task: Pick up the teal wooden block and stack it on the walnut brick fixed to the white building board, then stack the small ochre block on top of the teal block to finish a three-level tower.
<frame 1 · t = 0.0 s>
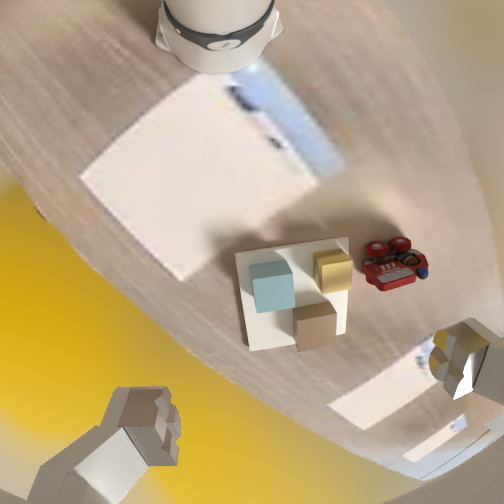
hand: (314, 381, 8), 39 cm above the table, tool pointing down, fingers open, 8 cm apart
toy fire truck: (383, 255, 51), on the table
building board: (295, 296, 52), on the table
teal block: (269, 278, 49), point 1 cm above the table, touching building board
ochre block: (327, 264, 49), point 1 cm above the table, touching building board
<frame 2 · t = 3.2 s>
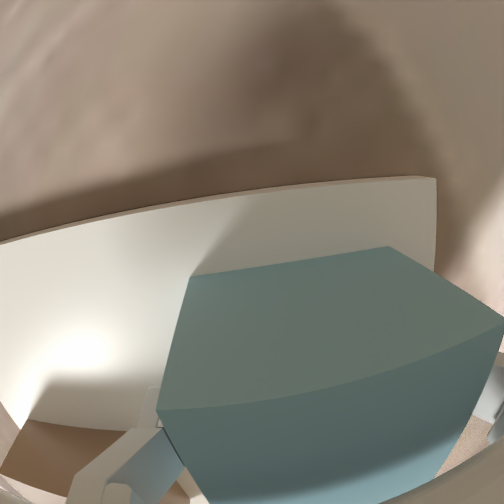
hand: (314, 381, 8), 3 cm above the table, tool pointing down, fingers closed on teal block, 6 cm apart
building board: (187, 424, 11), on the table
teal block: (301, 347, 9), point 1 cm above the table, touching building board, gripper
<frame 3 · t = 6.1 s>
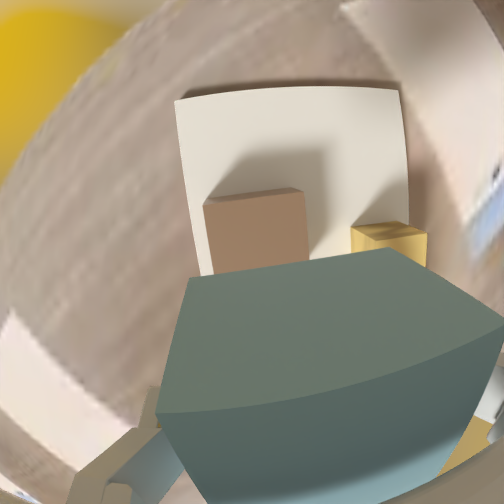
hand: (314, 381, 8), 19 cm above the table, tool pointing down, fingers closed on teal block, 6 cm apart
building board: (306, 195, 25), on the table
teal block: (302, 349, 9), point 18 cm above the table, touching gripper
ochre block: (374, 249, 26), point 1 cm above the table, touching building board
when the fingers open (8 cm above the table, at t = 8.5 s): teal block drops 1 cm, resting on building board.
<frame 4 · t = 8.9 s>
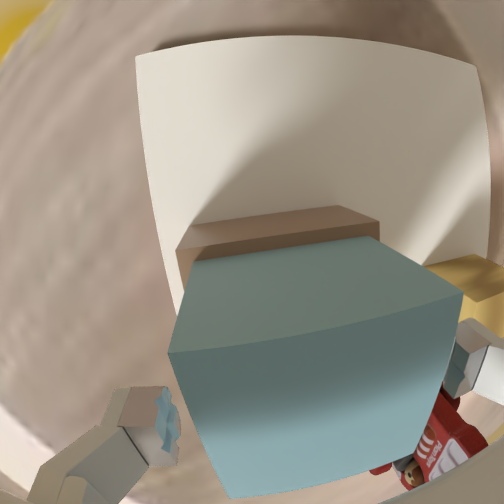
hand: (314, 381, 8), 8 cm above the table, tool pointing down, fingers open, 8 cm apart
toy fire truck: (397, 411, 21), on the table
building board: (357, 217, 15), on the table
teal block: (292, 326, 11), point 5 cm above the table, touching building board
ochre block: (445, 296, 16), point 1 cm above the table, touching building board
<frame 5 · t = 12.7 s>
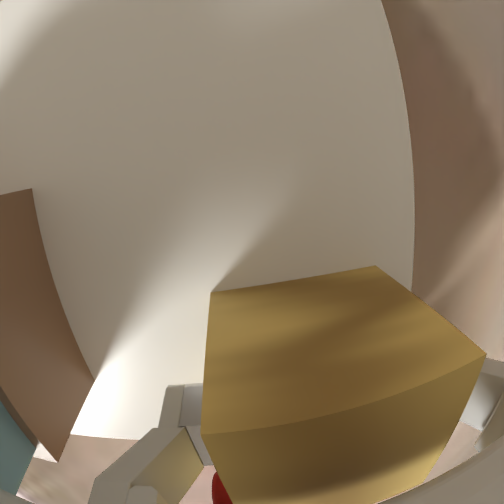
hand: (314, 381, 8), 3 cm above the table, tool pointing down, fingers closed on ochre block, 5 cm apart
toy fire truck: (284, 481, 14), on the table
building board: (91, 204, 8), on the table
ochre block: (302, 349, 9), point 1 cm above the table, touching building board, gripper
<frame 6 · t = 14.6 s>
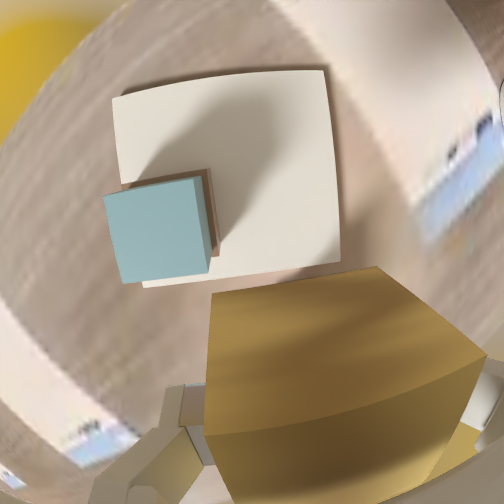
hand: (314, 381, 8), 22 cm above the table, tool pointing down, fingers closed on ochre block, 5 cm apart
building board: (228, 175, 27), on the table
teal block: (169, 219, 23), point 5 cm above the table, touching building board
ochre block: (303, 350, 9), point 20 cm above the table, touching gripper
when the fingers open (13 cm above the table, at t = 16.9 s): ochre block drops 1 cm, resting on teal block.
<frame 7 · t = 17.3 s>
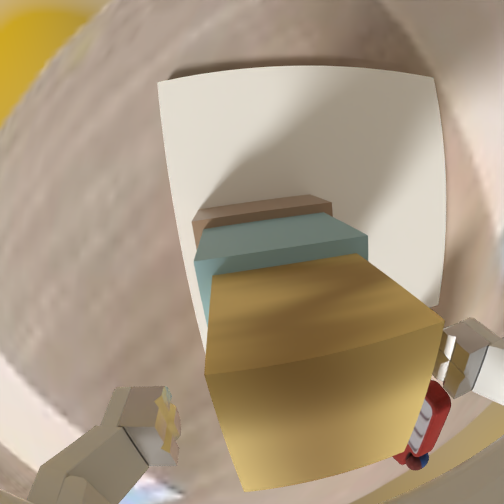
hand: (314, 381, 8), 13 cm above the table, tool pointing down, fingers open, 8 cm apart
toy fire truck: (376, 378, 25), on the table
building board: (327, 204, 20), on the table
teal block: (271, 277, 15), point 5 cm above the table, touching building board, ochre block
ochre block: (292, 328, 11), point 10 cm above the table, touching teal block
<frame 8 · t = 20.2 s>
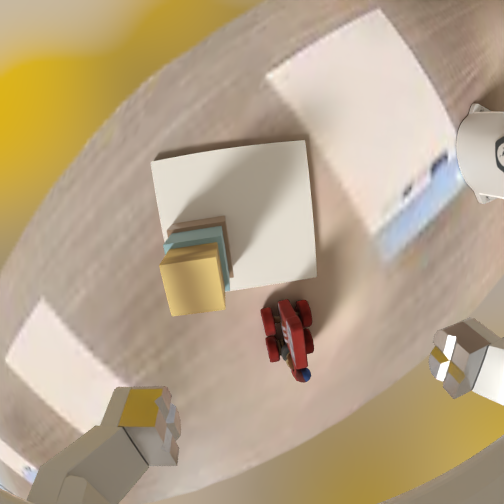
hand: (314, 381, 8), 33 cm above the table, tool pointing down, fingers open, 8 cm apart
toy fire truck: (285, 325, 45), on the table
building board: (237, 219, 40), on the table
teal block: (200, 254, 35), point 5 cm above the table, touching building board, ochre block
ochre block: (197, 268, 30), point 10 cm above the table, touching teal block
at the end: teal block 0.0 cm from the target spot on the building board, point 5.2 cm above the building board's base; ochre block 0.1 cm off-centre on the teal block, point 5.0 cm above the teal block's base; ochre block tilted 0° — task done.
